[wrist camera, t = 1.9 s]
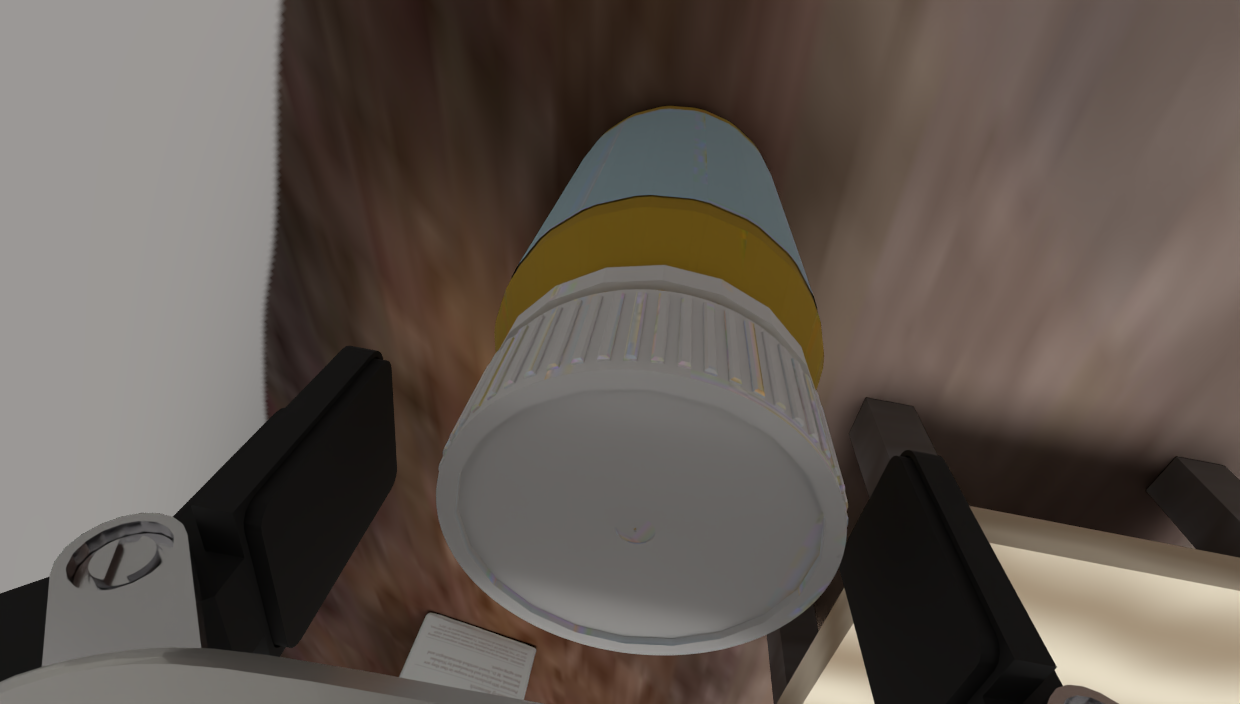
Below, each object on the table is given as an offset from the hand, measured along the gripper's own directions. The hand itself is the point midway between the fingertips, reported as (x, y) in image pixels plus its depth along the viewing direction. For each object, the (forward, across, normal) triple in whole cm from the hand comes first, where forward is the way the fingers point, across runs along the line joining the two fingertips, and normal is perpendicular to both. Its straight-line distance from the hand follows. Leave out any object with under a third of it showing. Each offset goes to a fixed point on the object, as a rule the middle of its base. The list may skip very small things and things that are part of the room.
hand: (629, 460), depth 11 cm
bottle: (+13, 0, -1) cm, 13 cm away
